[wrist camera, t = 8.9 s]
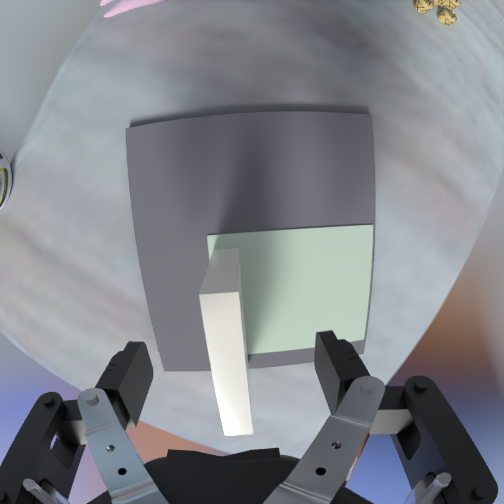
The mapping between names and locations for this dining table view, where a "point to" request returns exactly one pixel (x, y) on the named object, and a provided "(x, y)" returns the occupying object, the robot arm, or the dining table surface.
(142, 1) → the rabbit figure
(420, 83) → the dining table surface
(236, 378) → the tile
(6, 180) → the supplement bottle
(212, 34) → the dining table surface
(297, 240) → the mat
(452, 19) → the yellow speckled pebbles
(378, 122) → the dining table surface
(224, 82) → the dining table surface
